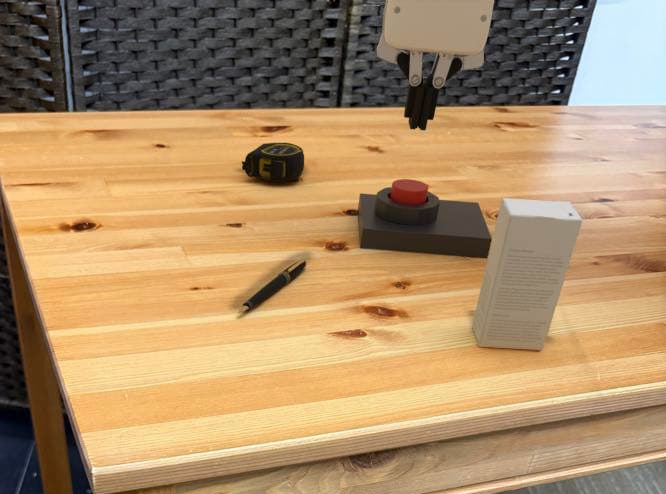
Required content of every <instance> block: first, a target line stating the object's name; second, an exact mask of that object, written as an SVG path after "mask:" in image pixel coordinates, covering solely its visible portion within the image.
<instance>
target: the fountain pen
mask: <svg viewBox="0 0 666 494" xmlns="http://www.w3.org/2000/svg"><path fill="white" fill-rule="evenodd" d="M306 266H307V259H306V258H302V259H300V260H299V261H296V262H294V263H293V264H291V265H289V266H288V267H286V268H285V269H284V270H282V271H281V272H279V274H278V275H277V276H276V277H274V278H273V279H272V280H271V281H269V282H268V283H267V284H266V285H264V286H263V287H262V288H260V290H258V291H257V292H256V293H254V294H253V295H252V296H251V297H250V298H249V299H248V300H246V301H245V302H244V303H243V304H242V307H241V308H239V309H238V312H237V314H239V313H242V312H243V313H244V312H249V311H250V310H252V309H254V308H255V307H256V306H258V305H260V304H261V303H262V302H263V301H265V300H266V299H268V298H269V297H271V296H272V295H273V294H274V293H275V294H276V292H278V291H279V290H280V289H282V287H284V286H286V285H287V284H289V283H290V282H291V281H293V280H294V279H295V278H296V277H297V276H298V275H299V274H300V273H301V272H302V271H303V270H304V268H306Z"/></svg>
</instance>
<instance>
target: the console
mask: <svg viewBox="0 0 666 494" xmlns="http://www.w3.org/2000/svg"><path fill="white" fill-rule="evenodd" d="M391 188H392V186H390V187H383V189H380V190H378V191H377V192H376V194H371V193H362V192H361V193H359V196H358V197H359V198H358V204H357V205H358V206H357V222H358V237H359V248H360V249H366V250H376V251H389V252H402V253H414V254H428V255H441V256H453V257H463V258H464V257H466V258H475V259H478V258H479V259H488V256H489V252H490V247H491V243H492V239H493V237H492V235H491V232H490V230H489V227H488V225H487V222H486V219H485V217H484V214H483V211H482V209H481V206H480V204H479V202H473V201H461V200H460V201H459V200H448V199H439V197H438V196H437V195H436V194H434V193H432V192H431V191H428V193H427V198H426V203H425V204H421V205H408V204H401V203H398V202H394V201H393V200H391V199H390V194H391Z"/></svg>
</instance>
